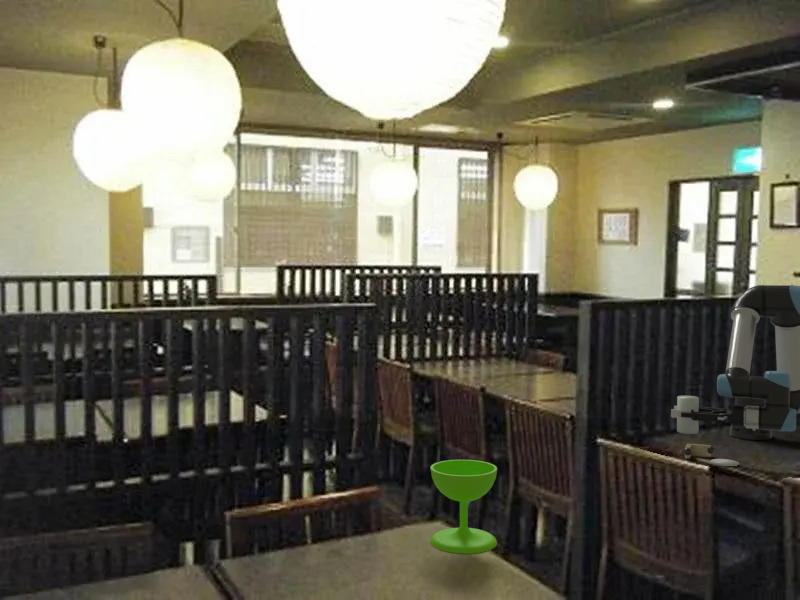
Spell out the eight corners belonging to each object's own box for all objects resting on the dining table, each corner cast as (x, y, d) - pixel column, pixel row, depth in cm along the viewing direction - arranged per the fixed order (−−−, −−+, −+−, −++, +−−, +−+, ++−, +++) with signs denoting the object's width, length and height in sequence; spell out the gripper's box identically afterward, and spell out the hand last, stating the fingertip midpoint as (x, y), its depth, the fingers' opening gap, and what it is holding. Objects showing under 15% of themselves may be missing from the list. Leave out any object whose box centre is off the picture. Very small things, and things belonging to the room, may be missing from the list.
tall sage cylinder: (678, 428, 275) (678, 395, 275) (699, 430, 272) (699, 396, 271) (675, 432, 269) (675, 397, 268) (697, 434, 266) (697, 399, 265)
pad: (711, 459, 269) (711, 457, 269) (739, 462, 265) (739, 460, 265) (708, 465, 261) (708, 463, 261) (738, 468, 257) (738, 466, 257)
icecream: (626, 443, 266) (667, 454, 255) (637, 435, 270) (678, 446, 259) (627, 462, 268) (667, 474, 257) (638, 453, 272) (679, 464, 261)
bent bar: (685, 454, 278) (685, 442, 278) (714, 456, 273) (715, 445, 273) (682, 459, 270) (683, 447, 270) (712, 462, 266) (712, 450, 266)
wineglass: (476, 527, 199) (476, 457, 198) (509, 547, 184) (509, 471, 184) (419, 536, 193) (419, 463, 192) (449, 557, 178) (449, 479, 177)
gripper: (743, 433, 253) (668, 427, 263) (746, 422, 271) (676, 417, 281) (743, 410, 253) (668, 405, 263) (746, 401, 271) (676, 396, 281)
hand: (672, 411), depth 272 cm, fingers closed on tall sage cylinder, 7 cm apart
